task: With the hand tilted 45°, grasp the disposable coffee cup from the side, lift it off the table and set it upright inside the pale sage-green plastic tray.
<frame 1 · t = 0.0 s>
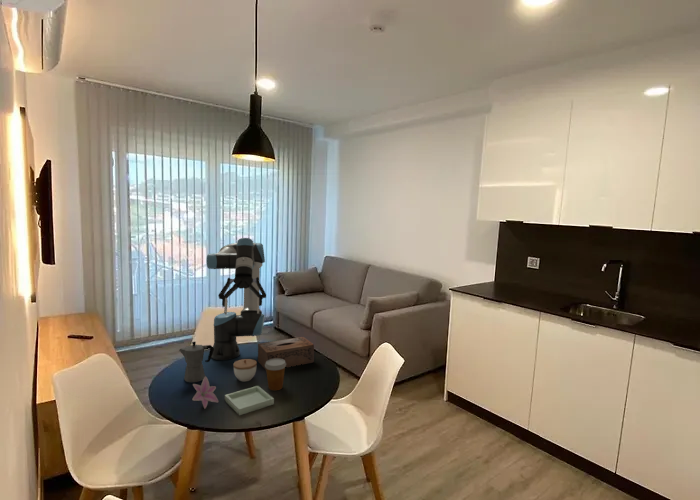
hand: (241, 313, 169), 36 cm above the table, tool tilted 35°, fingers open, 13 cm apart
lily: (204, 404, 163), on the table
tissue box cover: (285, 362, 209), on the table
lidded jar: (245, 379, 187), on the table
disposable coffee cup: (275, 387, 179), on the table
coffeepot: (197, 378, 187), on the table
tray: (249, 402, 164), on the table
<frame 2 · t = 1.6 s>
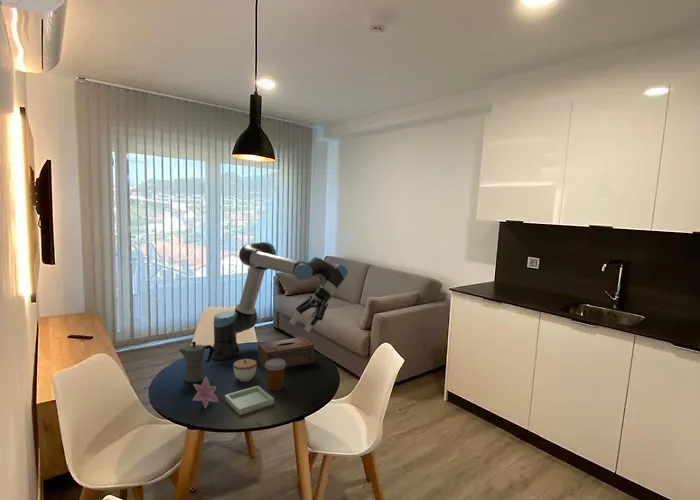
hand: (298, 327, 184), 26 cm above the table, tool tilted 45°, fingers open, 13 cm apart
nothing on the table moved.
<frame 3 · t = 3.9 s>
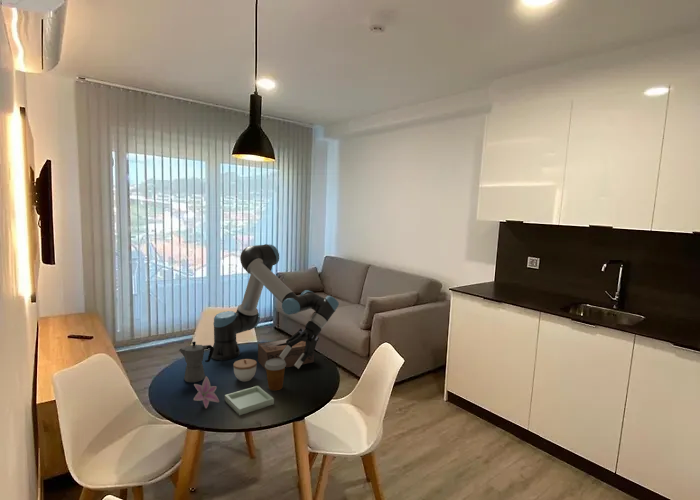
hand: (288, 362, 181), 11 cm above the table, tool tilted 45°, fingers open, 13 cm apart
nothing on the table moved.
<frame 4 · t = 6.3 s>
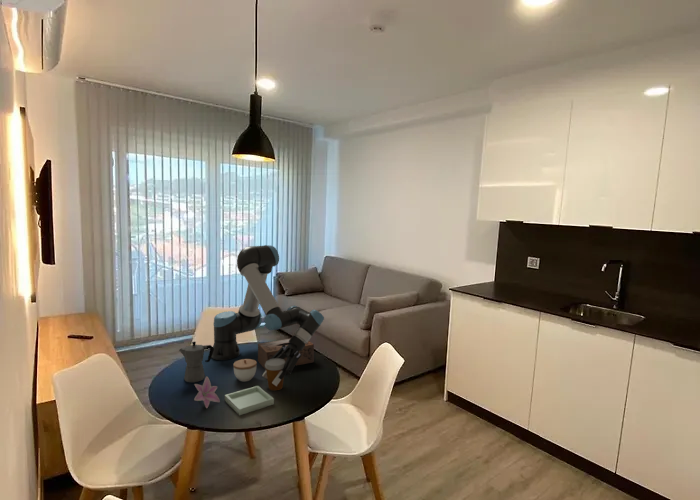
hand: (269, 380, 176), 4 cm above the table, tool tilted 45°, fingers closed on disposable coffee cup, 9 cm apart
disposable coffee cup: (275, 387, 179), on the table, touching gripper
everything else where it was.
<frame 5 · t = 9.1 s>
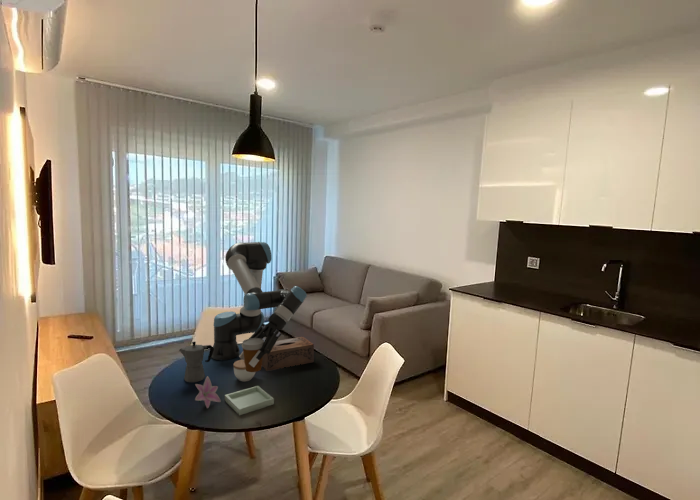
hand: (246, 361, 162), 18 cm above the table, tool tilted 45°, fingers closed on disposable coffee cup, 9 cm apart
disposable coffee cup: (253, 369, 164), point 14 cm above the table, touching gripper
everything else where it was.
when the fingers open (6 cm above the table, at t = 11.9 s): disposable coffee cup drops 1 cm, resting on tray.
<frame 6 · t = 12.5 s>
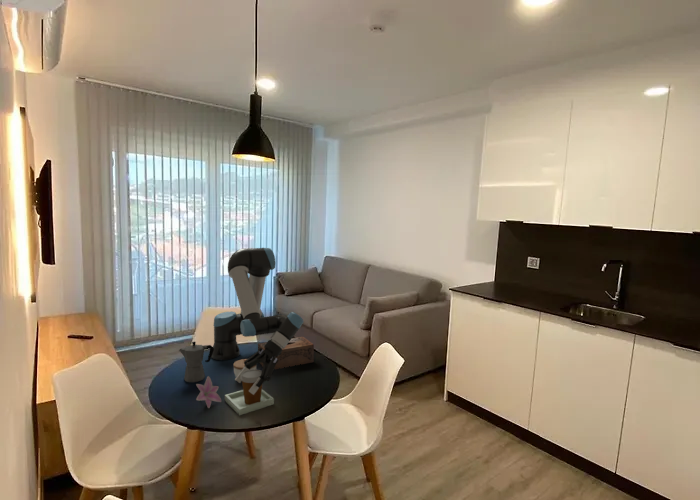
hand: (243, 387, 162), 7 cm above the table, tool tilted 45°, fingers open, 13 cm apart
disposable coffee cup: (252, 402, 163), point 1 cm above the table, touching gripper, tray
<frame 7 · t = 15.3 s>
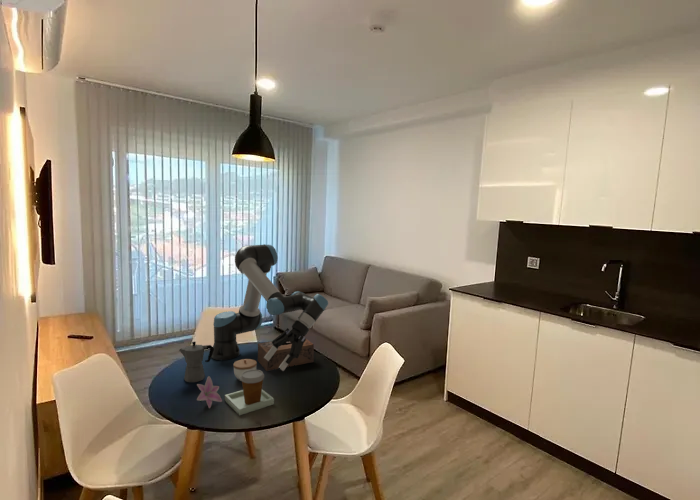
hand: (273, 364, 170), 14 cm above the table, tool tilted 45°, fingers open, 13 cm apart
disposable coffee cup: (252, 402, 163), point 1 cm above the table, touching tray
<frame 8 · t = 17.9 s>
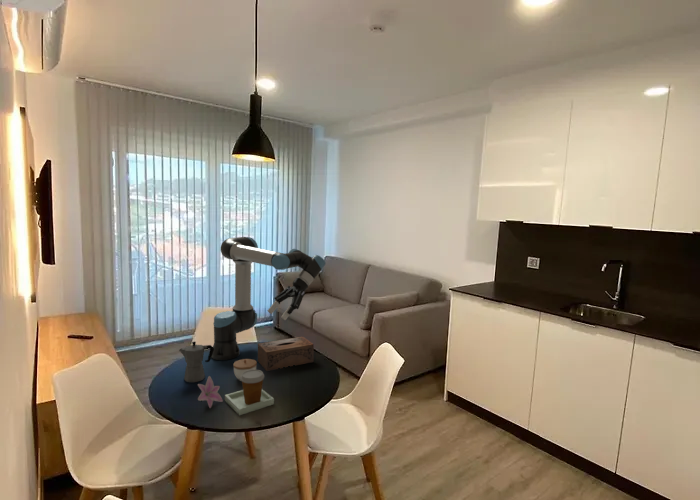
hand: (275, 315, 189), 30 cm above the table, tool tilted 45°, fingers open, 13 cm apart
at the end: disposable coffee cup inside the target area on the tray (2.2 cm from its centre), point 0.8 cm above the tray's base; disposable coffee cup tilted 0°; the gripper is holding nothing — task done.
